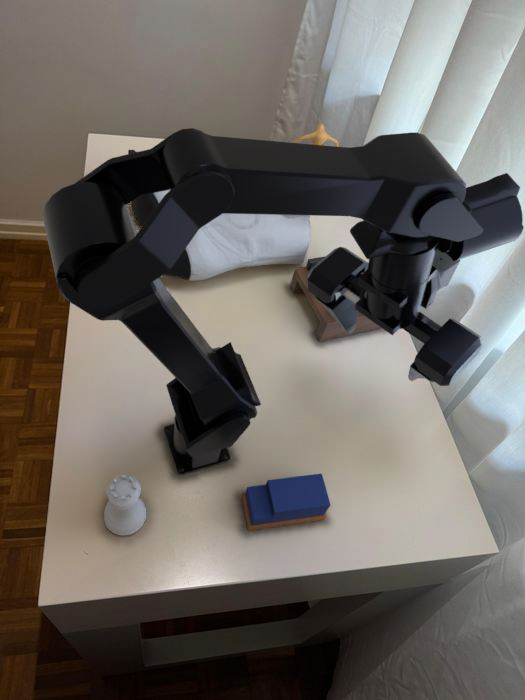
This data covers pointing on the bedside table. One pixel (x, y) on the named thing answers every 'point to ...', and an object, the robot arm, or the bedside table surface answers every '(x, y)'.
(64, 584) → the bedside table surface
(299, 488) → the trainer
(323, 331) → the brown piece
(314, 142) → the figurine
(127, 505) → the rook chess piece
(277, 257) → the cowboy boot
